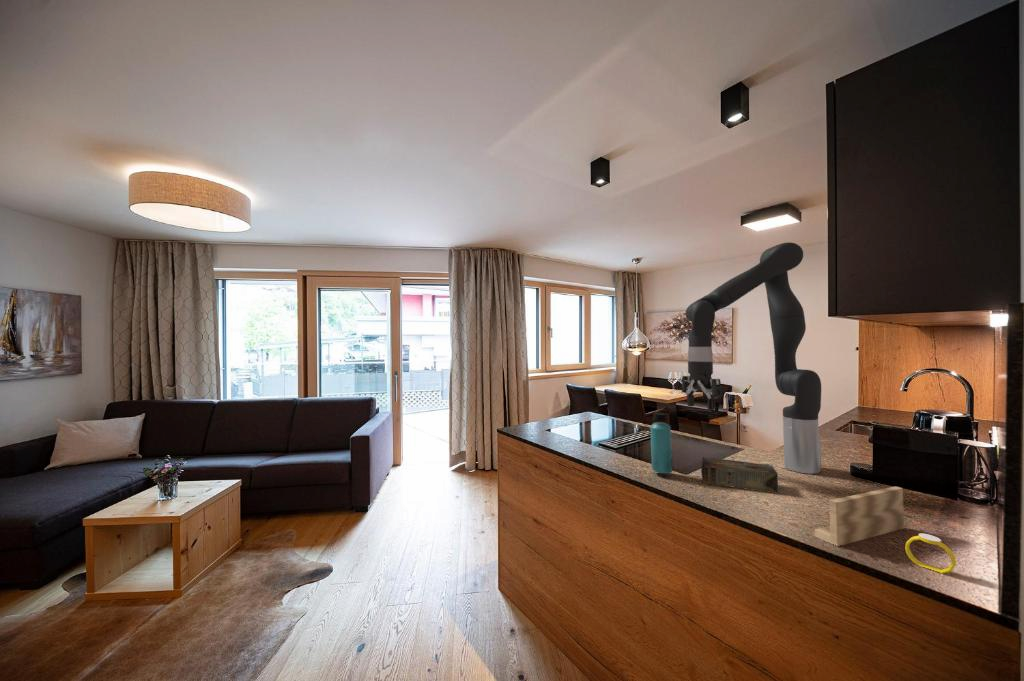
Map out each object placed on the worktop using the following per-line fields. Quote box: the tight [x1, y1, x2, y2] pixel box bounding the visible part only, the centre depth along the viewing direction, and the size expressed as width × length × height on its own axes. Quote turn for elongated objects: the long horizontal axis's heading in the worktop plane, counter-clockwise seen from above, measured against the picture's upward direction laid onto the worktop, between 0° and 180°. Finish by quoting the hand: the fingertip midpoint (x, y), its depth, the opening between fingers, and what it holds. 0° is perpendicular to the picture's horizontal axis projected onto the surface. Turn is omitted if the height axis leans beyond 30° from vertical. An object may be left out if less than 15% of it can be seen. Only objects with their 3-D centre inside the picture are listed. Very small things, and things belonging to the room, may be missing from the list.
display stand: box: [814, 486, 905, 547], centre depth 79 cm, size 22×4×9 cm, turn 107°
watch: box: [904, 532, 957, 575], centre depth 66 cm, size 6×3×6 cm, turn 34°
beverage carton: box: [700, 456, 779, 494], centre depth 108 cm, size 8×19×7 cm, turn 64°
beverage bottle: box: [649, 412, 674, 474], centre depth 117 cm, size 6×7×20 cm
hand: (700, 407), depth 121 cm, fingers open, 8 cm apart
